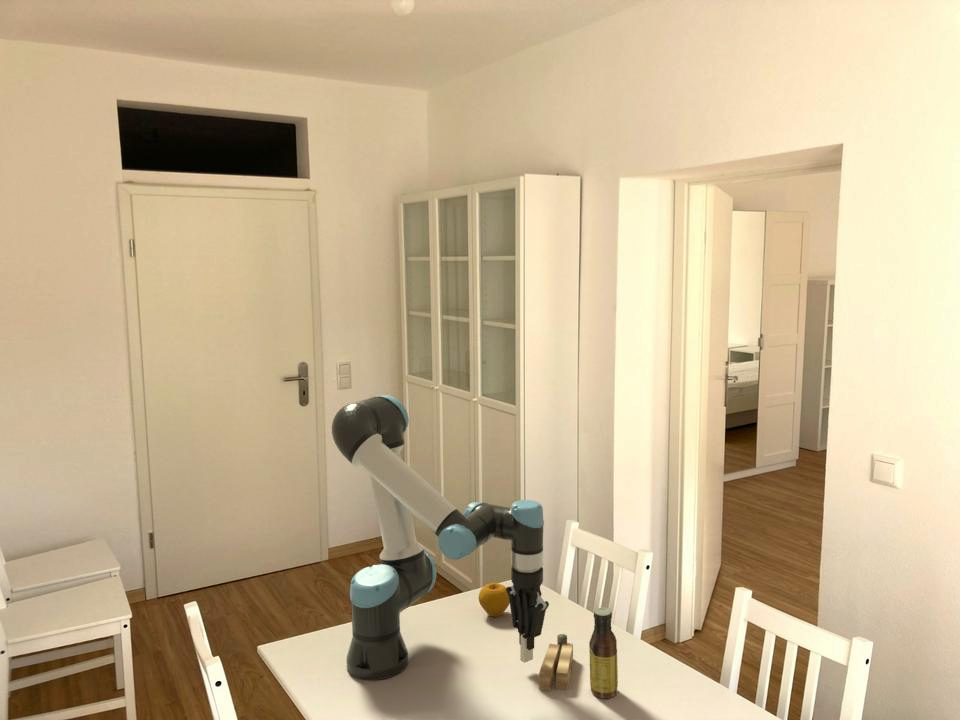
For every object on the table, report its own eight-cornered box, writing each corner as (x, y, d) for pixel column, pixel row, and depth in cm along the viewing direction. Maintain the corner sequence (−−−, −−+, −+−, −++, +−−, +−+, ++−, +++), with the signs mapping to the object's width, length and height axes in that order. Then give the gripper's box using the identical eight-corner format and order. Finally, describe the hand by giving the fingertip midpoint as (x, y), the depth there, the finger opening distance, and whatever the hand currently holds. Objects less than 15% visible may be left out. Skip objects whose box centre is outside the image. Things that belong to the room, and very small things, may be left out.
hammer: (558, 653, 195) (557, 633, 195) (573, 654, 195) (573, 634, 194) (550, 688, 180) (550, 667, 179) (567, 689, 179) (567, 668, 178)
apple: (477, 608, 221) (477, 578, 220) (509, 606, 222) (508, 576, 221) (479, 622, 213) (479, 591, 211) (512, 621, 213) (511, 590, 212)
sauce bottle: (599, 681, 182) (598, 601, 179) (622, 690, 178) (622, 608, 175) (584, 694, 177) (583, 611, 174) (608, 703, 173) (608, 619, 170)
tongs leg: (549, 658, 192) (549, 643, 192) (559, 660, 192) (559, 644, 191) (539, 689, 179) (538, 673, 178) (549, 690, 178) (549, 674, 178)
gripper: (557, 571, 181) (556, 665, 184) (521, 554, 191) (520, 644, 194) (533, 579, 176) (533, 676, 180) (497, 561, 186) (497, 653, 190)
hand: (526, 659), depth 187 cm, fingers closed
